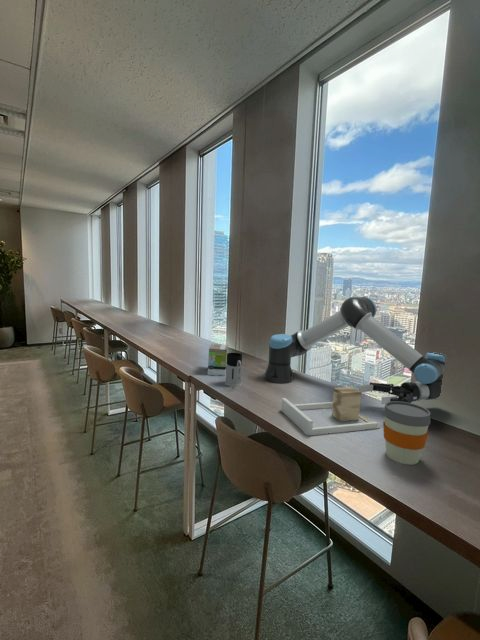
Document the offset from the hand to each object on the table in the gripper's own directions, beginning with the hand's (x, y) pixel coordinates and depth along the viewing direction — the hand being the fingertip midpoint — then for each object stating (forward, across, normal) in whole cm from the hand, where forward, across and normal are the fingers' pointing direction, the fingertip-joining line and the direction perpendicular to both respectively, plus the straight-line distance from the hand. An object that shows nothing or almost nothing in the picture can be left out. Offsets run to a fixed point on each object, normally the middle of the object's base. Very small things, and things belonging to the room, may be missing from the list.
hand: (370, 394), depth 128 cm
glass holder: (+43, +44, -9) cm, 62 cm away
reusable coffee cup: (+10, -29, -9) cm, 32 cm away
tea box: (+46, +69, -9) cm, 83 cm away
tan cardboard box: (+10, 0, -9) cm, 14 cm away
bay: (+18, 0, -9) cm, 20 cm away
